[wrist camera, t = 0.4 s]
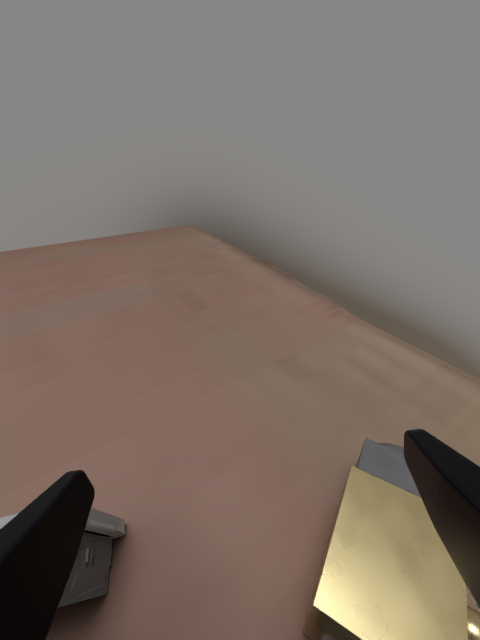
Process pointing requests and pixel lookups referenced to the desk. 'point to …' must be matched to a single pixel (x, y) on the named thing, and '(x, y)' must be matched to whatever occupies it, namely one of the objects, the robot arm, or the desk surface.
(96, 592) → the electrical switch
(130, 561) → the desk surface
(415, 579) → the valve
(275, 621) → the desk surface
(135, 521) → the desk surface
